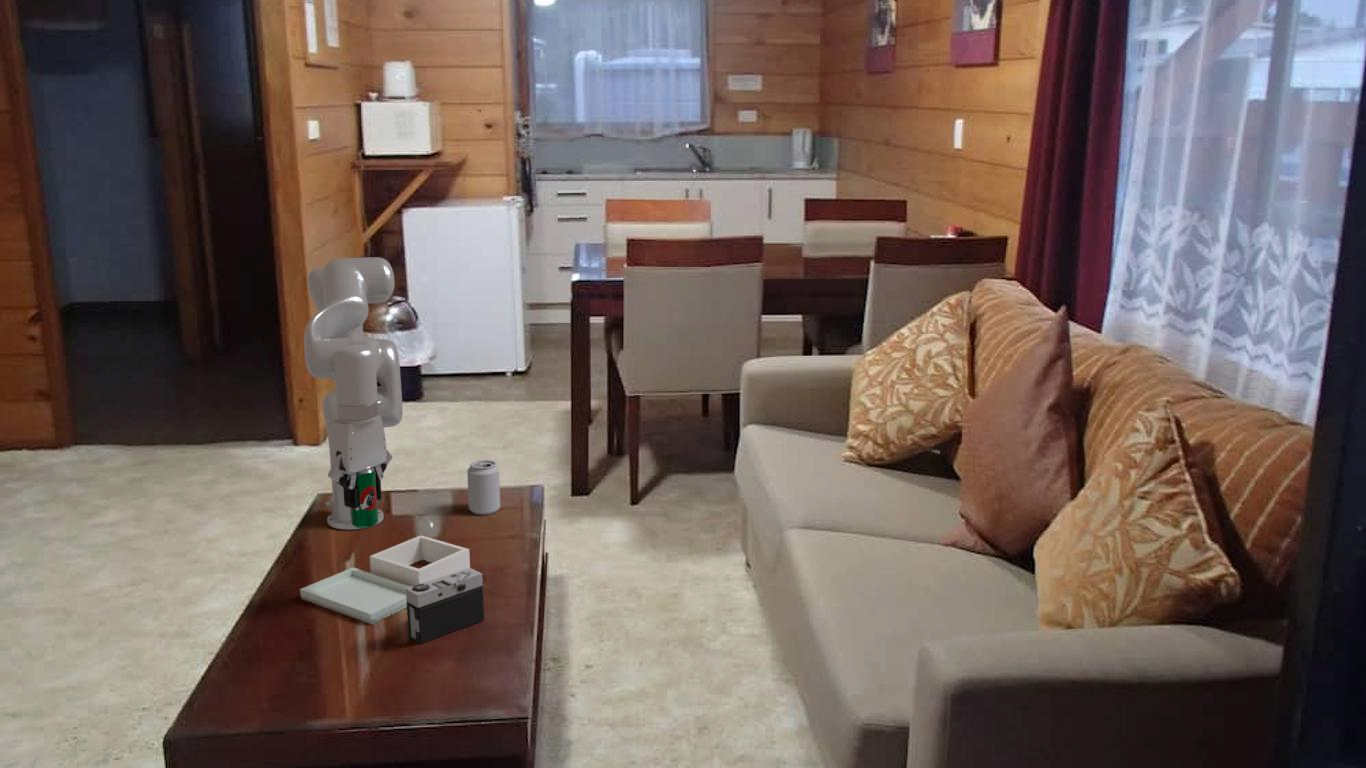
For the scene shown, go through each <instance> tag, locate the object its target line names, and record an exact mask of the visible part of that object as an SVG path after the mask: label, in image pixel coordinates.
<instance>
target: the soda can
mask: <svg viewBox="0 0 1366 768" xmlns="http://www.w3.org/2000/svg"><path fill="white" fill-rule="evenodd" d="M349 476H350V475H348V480H349ZM354 488H357V489H358V504H359V506H358V508H356V509H354V508H350V514H351V524H352V525H353V526H354V527H356V528H362V529H369V528H372V527H374V526H376V525H378V524H377V522H378V509H379V508H378V507H379V506H378V500H377V489H376V472H375V468H374V467H372V466H370V467H367V468H365V470H363V471H360V472H357V475H356V481H355V487H354Z"/></svg>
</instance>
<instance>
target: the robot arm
mask: <svg viewBox="0 0 1366 768" xmlns="http://www.w3.org/2000/svg"><path fill="white" fill-rule="evenodd" d="M391 265H392V264H390V262H389V261H388V260H386V259H385V258H383V257H378V256H377V257H376V256H375V257H341V258H337V259H333V260H331V261H330V260H329V262H327V263H326V264H325V265H324V266H321V267H316V268H313V269H312V270H311V271H309V273H308V275H307V287H308V292H309V295H310V297H311V300H312V303H313V304H314V306H315V308H316V310H317V312H316V313H315V314H314V315H313V317H311V319H310V320H309V322H308V323H307V324H306V327H305V330H304V334H303V347H304V362H305V365H306V370H307V372H308V373H309V374H310V375H311V376H312V377H313V378H316V379H323V380H324V379H330V380H332V382H334V390H332V391H330V392H328V393H327V394H326V395H324V397H323V399H322V414H323V418H324V419H323V420H324V423H325V424H324V425H325V427H326V432H327V441H328V448H329V450H328V451H329V460H330V461H329V462H330V470H329V471H328V474H327V477H328V478H330V479H331V491H332V493H331V494H332V496H331V497H330V499H329V500H328V501H327V500H326V502H325V507H326V508H329V509H330V508H331V514H329V515H328V516H327V519H326V520H327V525H328V526H329V527H332V528H334V529H336V530H337V529H339V530H346V531H347V530H350V531H351V530H359V529H360V530H362V529H363V528H356V527H354V526H353V525H352V524H351V514H350V508H354V509H356V508H358V506H359V504H358V489H357V488H354V487H355V481H356V475H357V472H360V471H363V470H365V468H367V467H370V466H372V467H374V468H375V472H376V489H377V501H380V500H382V482H381V480H382V479H383V478H384V473H385V471H386V469H387V467H388V465H389V463H391V460H392V459H393V455H392V454H391V453H390V452H389V450H388V449H387V442H386V434H385V428H390V427H395V426H398V425H399V424H400V422H401V421H402V419H403V414H404V413H403V409H404V408H403V395H402V394H403V392H402V381H401V380H402V379H401V365H400V357H399V351H398V349H397V346H396V345H395V343H394V342H393V341H391V340H389V339H385V338H384V339H383V338H378V339H377V338H373V337H367V336H366V337H364V325H363V324H364V323H365V321H366V320H367V319H368V316H369V312H370V310H369V309H370V308H369V304H383V303H387V301H389V300H390V298H391V297H392V295H393V293H394V290H395V285H396V284H395V282H396V281H395V274H394V271H393V268H392V266H391ZM378 383H379V384H380V386H378ZM348 475H350V476H349V480H348ZM384 518H385V517H384V512H383V511H382V510H381V509H379V508H378V522H377V524H376V525H378V524H380V523H381V522H382V521H383V520H384Z"/></svg>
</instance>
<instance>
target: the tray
mask: <svg viewBox="0 0 1366 768" xmlns="http://www.w3.org/2000/svg"><path fill="white" fill-rule="evenodd" d="M409 587H412V586H409V585H406V584H403V583H400V582H397V581H394V580H391V579H388V578H385V577H381V576H378V575H375V574H372V573H371V572H368V571H365V570H364V569H363V570H362V569H360V568H357V567H351V568H349V569H346V570H344V571H340V572H339V573H336V574H334V575H332V576H329V577H326V578H324V579H321V580H318V581H317V582H314V583H312V584H309V585H307V586H304V587H302V588H300V589H299V591H300V599H301V600H303V601H306V602H309V603H311V602H312V604H315V605H317V606H320V607H323V608H325V609H328V610H331V611H334V612H336V613H338V614H339V613H340V614H341V615H344V616H348V617H350V618H354V619H356V620H358V621H362V622H364V623H367V624H370V625H373V624H375V623H377V622H380V621H381V619H382V620H384V619H385V618H388V617H390V616H392V615H394V614H396V613H398V612H401V611H402V609H403V610H404V608H405V609H407V608H406V607H407V602H406V588H409ZM400 610H401V611H400ZM391 614H392V615H391ZM383 618H384V619H383Z"/></svg>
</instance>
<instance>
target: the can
mask: <svg viewBox="0 0 1366 768" xmlns="http://www.w3.org/2000/svg"><path fill="white" fill-rule="evenodd" d="M466 473H467V493H468V494H467V496H468V498H467V499H468V509H469V511H471V512H472V513H473V514H475V515H480V516H487V515H492V514H495V513H497V511H498V510H499V509H500V508H501V492H500V491H501V488H500V487H501V486H500V484H501V483H500V468H499V467H498V466H497V462H496V461H495V460H491V459H490V460H489V459H488V460H487V459H481V460H474V461H472V462H470V463H469V468H468V469H467V472H466Z"/></svg>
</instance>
